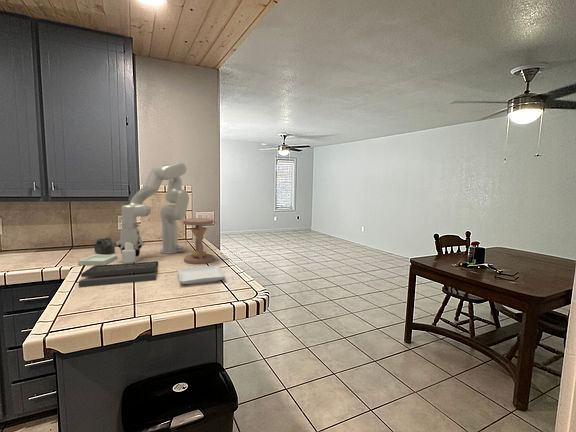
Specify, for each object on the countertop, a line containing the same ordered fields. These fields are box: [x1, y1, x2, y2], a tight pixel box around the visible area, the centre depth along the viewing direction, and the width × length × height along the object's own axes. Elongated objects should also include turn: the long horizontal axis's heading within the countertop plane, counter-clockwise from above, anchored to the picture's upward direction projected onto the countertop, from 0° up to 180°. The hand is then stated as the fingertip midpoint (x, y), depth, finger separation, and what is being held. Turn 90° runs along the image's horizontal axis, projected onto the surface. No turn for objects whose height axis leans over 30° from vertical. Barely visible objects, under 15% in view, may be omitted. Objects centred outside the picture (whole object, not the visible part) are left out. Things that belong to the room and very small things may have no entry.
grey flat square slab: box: [177, 265, 226, 285], centre depth 150 cm, size 21×21×3 cm
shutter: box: [78, 260, 159, 288], centre depth 154 cm, size 32×7×31 cm
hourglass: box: [182, 217, 215, 265], centre depth 182 cm, size 18×18×25 cm
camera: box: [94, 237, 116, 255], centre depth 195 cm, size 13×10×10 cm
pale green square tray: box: [77, 254, 118, 266], centre depth 174 cm, size 14×14×2 cm
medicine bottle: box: [121, 242, 140, 264], centre depth 177 cm, size 7×7×12 cm
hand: (130, 255), depth 177 cm, fingers closed on medicine bottle, 7 cm apart
